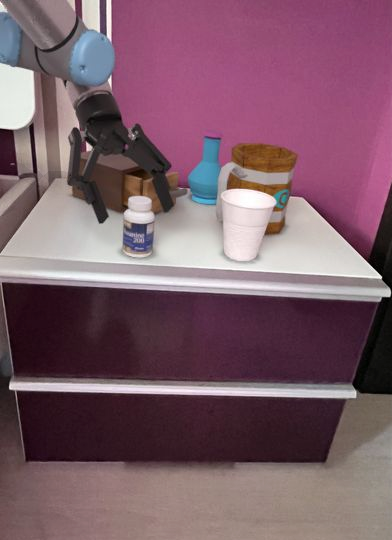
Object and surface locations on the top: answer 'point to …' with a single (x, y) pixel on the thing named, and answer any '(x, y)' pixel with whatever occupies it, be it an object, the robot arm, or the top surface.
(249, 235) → the cup
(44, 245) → the top surface
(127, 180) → the drawer
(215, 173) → the perfume bottle
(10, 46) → the robot arm
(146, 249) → the pill bottle
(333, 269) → the top surface
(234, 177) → the mug
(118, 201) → the cabinet
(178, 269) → the top surface
